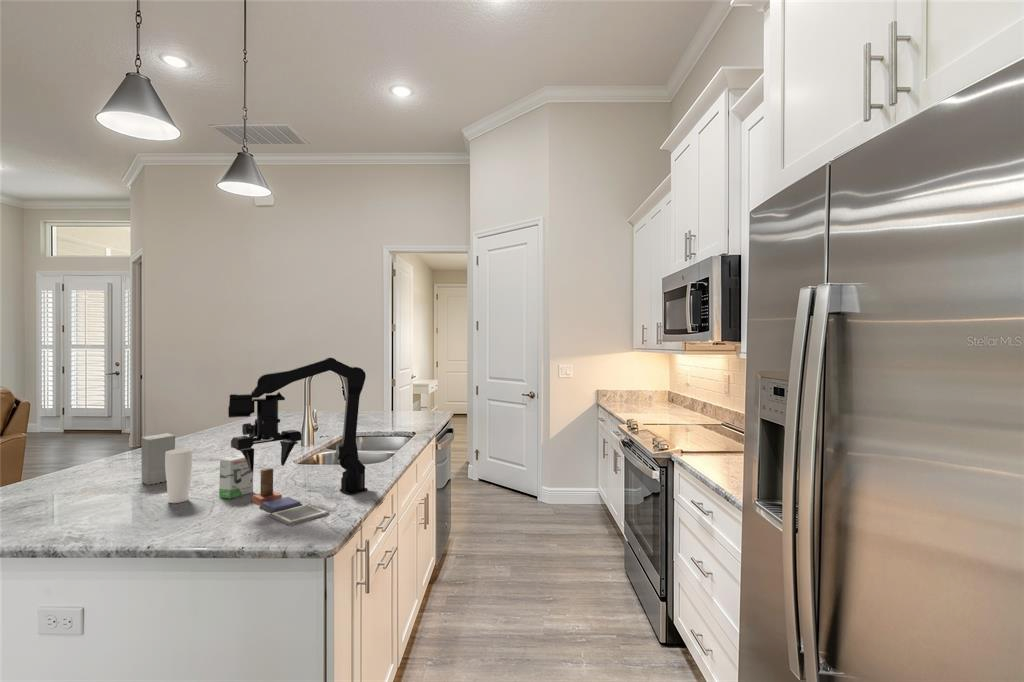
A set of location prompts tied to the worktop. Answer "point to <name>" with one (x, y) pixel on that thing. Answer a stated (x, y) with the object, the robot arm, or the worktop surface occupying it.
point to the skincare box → (155, 457)
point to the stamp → (266, 488)
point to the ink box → (235, 477)
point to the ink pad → (280, 504)
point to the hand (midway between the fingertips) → (267, 468)
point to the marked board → (299, 514)
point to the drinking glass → (178, 474)
